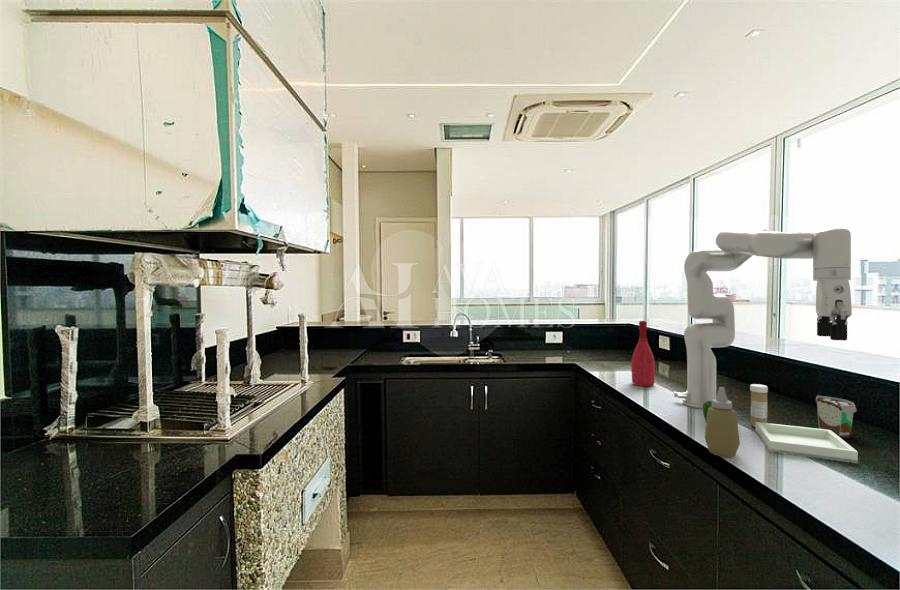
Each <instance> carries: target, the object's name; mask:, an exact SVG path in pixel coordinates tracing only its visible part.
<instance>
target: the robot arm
mask: <svg viewBox="0 0 900 590" xmlns="http://www.w3.org/2000/svg"><path fill="white" fill-rule="evenodd" d="M715 244H716V247H717V248H698V249H695V250H693V251H691V252H690V253H689V254H688V255H687V257H686V258H685V260H684V265H683V266H684V267H683V270H684V274H685V280H686V285H687V288H686V292H687V293H686V294H687V311H688V312H687V313H688V314H689V316H690V317H691V318H693V319H695V320H712V322H695V323H692V324H689V325H688V326H686V328H685V329H684V333H683V338H684V343H685V348H686V360H687V361H686V366H687V369H686V370H687V372H686V373H687V374H686V375H687V376H686V377H687V379H686V380H687V381H686V383H687V385H686V386H687V390H685V391H683V392H678V391H673V396H674V398H678V399H683V400H682V403H683V404H684V405H685V406H688V407H691V408H694V409H695V408H696V409H702V410H703V405H704V403H706V402H707V401H712V400H713V399H716V398H717V358H716V356H715V354H714V352H713V351H712V349H713V348H726V347H730V346H731V345H733V343H734V341H735V337H736V324H735V306H734V302H733V301H732V300H731V298H730V297H728V296H727V295H725V294H714V284H713V281H712V279H711V277H710V275H709V274H708V273H707V272H732V271H734V270H736V269H738V268H739V267H741V266H742V265H744V264H745V263H746V262H747V261H748V260H750V258H752V257H753V256H756V257H763V258H771V259H784V260H785V259H787V260H789V259H798V260H799V259H800V260H801V259H803V260H805V259H807V260H809V259H812V281H816V288H815V289H816V291H815V312H816V315H817V317H816V335H817V337H829V338H830V340H832V341H848V318H850V317H852V313H853V312H852V311H853V310H852V293H851V285H850V281H851V280H852V278H851V277H852V276H851V275H852V272H851V271H852V268H851V267H852V252H851V251H852V234H851V231H850V230H849V229H847V228H828V229H827V228H826V229H821V230H818V231H816V232H803V231H802V232H797V231H795V232H792V231H791V232H786V231H785V232H784V231H783V232H782V231H768V230H767V229H764V228H747V227H745V228H742V227H741V228H740V227H739V228H738V227H732V228H725V229H723V230H722V231H720V232H719V233H718V234H717V235H716V237H715Z"/></svg>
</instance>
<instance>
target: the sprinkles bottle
mask: <svg viewBox="0 0 900 590" xmlns="http://www.w3.org/2000/svg"><path fill="white" fill-rule="evenodd" d="M749 390H750V423H749V424H750V426H751V427H753V428H755V422H761V423H768V393H769V387H768V386H767V385H764V384H760V383H758V384H757V383H752V384H750V386H749Z"/></svg>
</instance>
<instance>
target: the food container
mask: <svg viewBox="0 0 900 590" xmlns="http://www.w3.org/2000/svg"><path fill="white" fill-rule="evenodd" d="M815 403H816V407H817V408H816V409H817V410H816V411H817V424H818V429H826V430H831V431H832V432H834V433H835V434H836V435H837V436H839V437H840V438H841V439H843V438H844V439H847V438H848V439H849V438H851V435H852V429H853V428H852V427H853V419H854V413H856V412H857V410H858V409H857V407H856V405H855V403H854V402H853V401H850V400H848V399H843V398H838V397H832V396H826V395H816V397H815Z"/></svg>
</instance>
